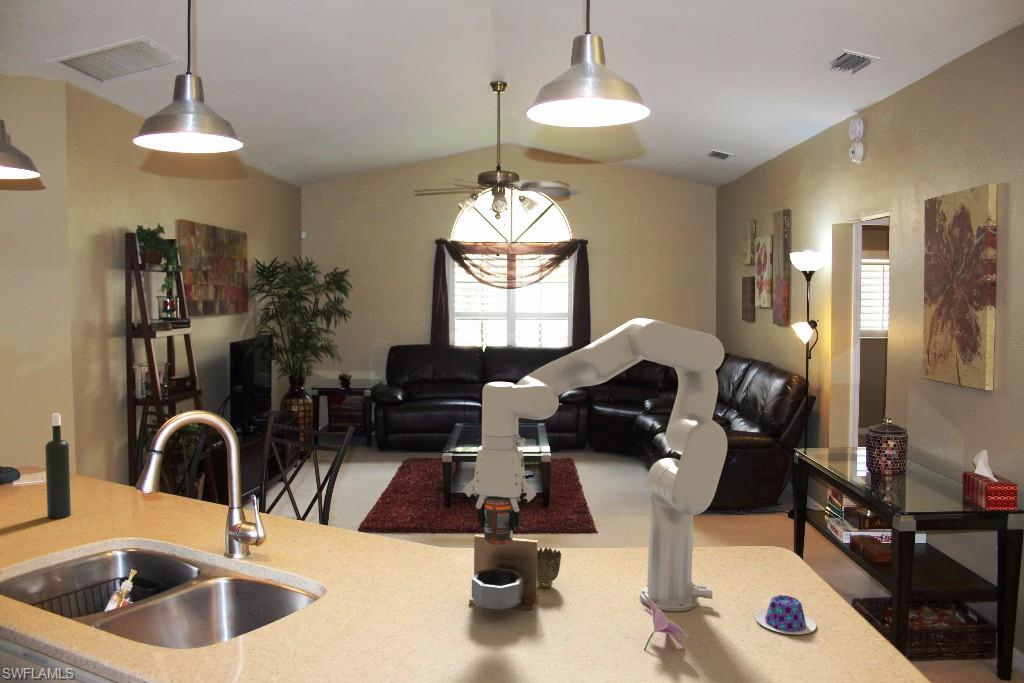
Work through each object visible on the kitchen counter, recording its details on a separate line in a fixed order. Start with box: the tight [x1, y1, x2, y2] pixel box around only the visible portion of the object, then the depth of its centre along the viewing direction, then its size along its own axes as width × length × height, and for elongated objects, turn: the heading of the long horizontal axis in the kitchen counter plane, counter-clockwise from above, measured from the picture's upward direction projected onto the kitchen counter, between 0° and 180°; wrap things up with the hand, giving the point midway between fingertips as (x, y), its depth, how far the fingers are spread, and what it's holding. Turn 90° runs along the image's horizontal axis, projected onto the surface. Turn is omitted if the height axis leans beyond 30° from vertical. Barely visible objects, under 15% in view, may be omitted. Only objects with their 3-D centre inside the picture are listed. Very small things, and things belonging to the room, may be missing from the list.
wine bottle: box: [44, 412, 72, 520], centre depth 217 cm, size 6×6×30 cm
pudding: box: [754, 594, 817, 635], centre depth 157 cm, size 12×12×5 cm
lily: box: [641, 592, 689, 651], centre depth 146 cm, size 12×12×10 cm
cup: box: [537, 547, 562, 590], centre depth 173 cm, size 8×7×8 cm
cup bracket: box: [468, 534, 539, 613], centre depth 160 cm, size 14×14×14 cm
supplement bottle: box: [483, 497, 514, 545], centre depth 157 cm, size 6×6×11 cm
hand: (498, 526), depth 157 cm, fingers closed on supplement bottle, 6 cm apart
